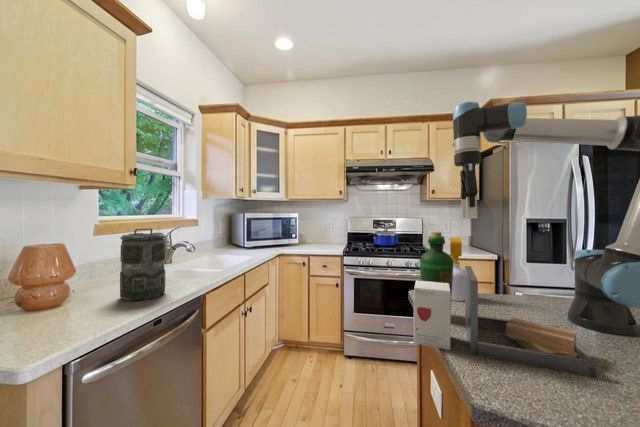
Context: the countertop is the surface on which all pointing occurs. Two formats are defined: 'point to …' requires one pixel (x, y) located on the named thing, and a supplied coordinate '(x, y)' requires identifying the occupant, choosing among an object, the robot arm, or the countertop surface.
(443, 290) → the supplement box
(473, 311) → the stand
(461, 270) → the soap bottle
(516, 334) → the offcut upper
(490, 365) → the countertop surface
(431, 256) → the bottle
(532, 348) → the offcut lower
